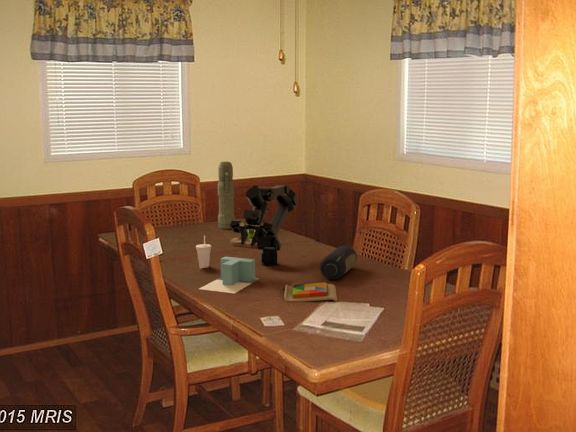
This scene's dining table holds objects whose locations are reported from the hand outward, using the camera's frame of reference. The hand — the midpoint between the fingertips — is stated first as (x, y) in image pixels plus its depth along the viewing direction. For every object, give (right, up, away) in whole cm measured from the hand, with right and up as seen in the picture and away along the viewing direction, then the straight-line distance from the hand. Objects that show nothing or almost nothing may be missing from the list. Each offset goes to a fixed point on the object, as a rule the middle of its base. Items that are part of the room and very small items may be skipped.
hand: (246, 245), depth 286 cm
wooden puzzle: (+25, -18, -23) cm, 38 cm away
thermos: (-16, +5, +98) cm, 99 cm away
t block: (-4, -14, -8) cm, 16 cm away
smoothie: (-19, -10, +15) cm, 26 cm away
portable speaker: (+37, -12, +5) cm, 39 cm away
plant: (0, -2, +62) cm, 62 cm away
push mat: (-6, -15, -11) cm, 19 cm away
